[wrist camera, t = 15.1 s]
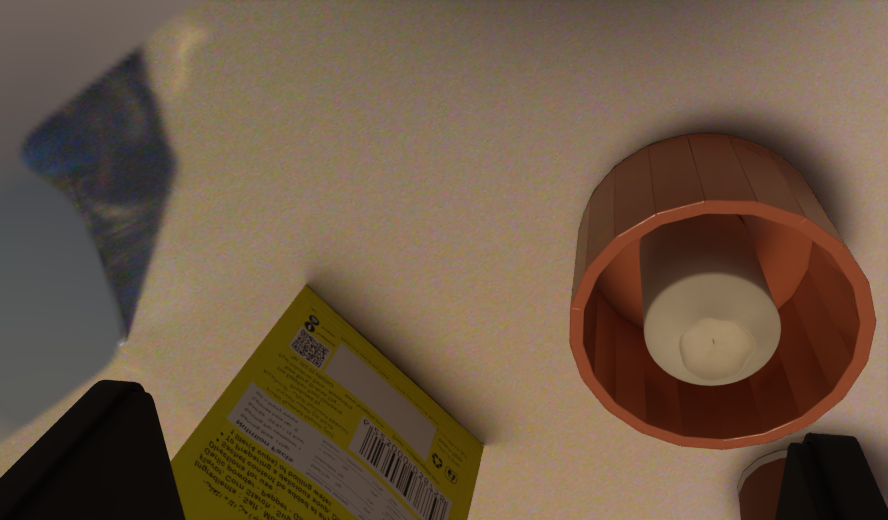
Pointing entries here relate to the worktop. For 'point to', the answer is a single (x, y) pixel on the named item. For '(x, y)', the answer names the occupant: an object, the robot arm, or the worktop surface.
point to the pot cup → (784, 266)
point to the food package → (325, 435)
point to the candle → (706, 300)
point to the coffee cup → (761, 487)
